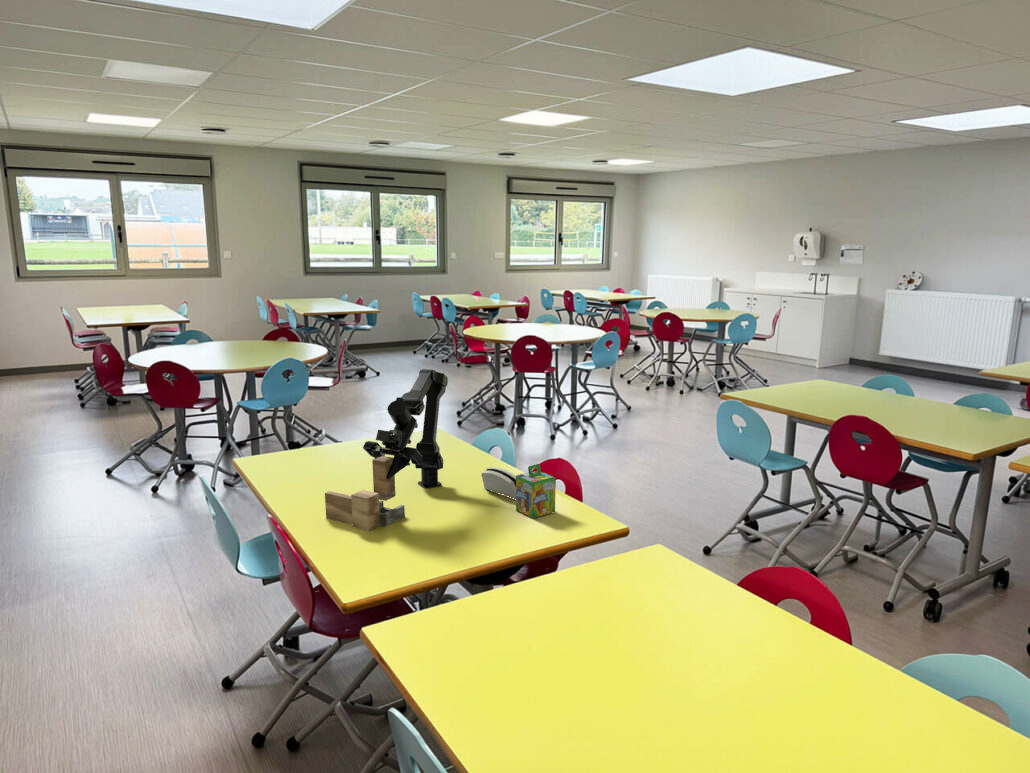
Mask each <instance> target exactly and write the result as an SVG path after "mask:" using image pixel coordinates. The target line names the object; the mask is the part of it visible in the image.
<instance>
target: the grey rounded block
mask: <svg viewBox="0 0 1030 773" xmlns="http://www.w3.org/2000/svg"><path fill="white" fill-rule="evenodd" d="M516 476H517V475H515V474H513V473H512V472H510V471H508V470H506V469H504V468H502V467H496V466H495V467H494V466H493V467H488V468H486V469H485V470H483V471H482V473H481V478H482V483H483V487H484V488H483V489H484V490H486V489H488V490H487V491H489V490H492V491H494V492H493V493H495V492H497V493H500V494H504V495H506V496H509V497H511V498H514V499H516ZM492 491H491V492H492ZM497 493H496V494H497ZM500 494H499V495H500ZM511 498H510V499H511ZM514 499H513V500H514Z"/></svg>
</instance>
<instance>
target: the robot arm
mask: <svg viewBox="0 0 1030 773" xmlns="http://www.w3.org/2000/svg"><path fill="white" fill-rule="evenodd" d="M448 383H449V379H448V376H447V375H446V374H445V373H444V372H438V371H436V370H435V369H426V368H425V369H424V368H423V369H420V370H419V372H418V376H417V377H416V380H415V381H414V383H413V386H412V387H411V388H410V391H408V392H405V393H403V394H402V395H401V397H396V399H395V400H393V401H391V402H390V404H388V406H387V409H386V410H387V413H388V415H389V417H390V418H391V420H392V422H393V423H394V424H395V425H394V427H393V429H390V430H383V429H378V430H377V433H376V437H375V441H371V440H368V441H365V442H364V445H363V446H362V449H363V450H364V451H365V452H366V453H367V454H368V455H369V456H370V457H372V458H373V459H375V458H378V457H380V456H386V455H388V456H393V458H394V461H393V463H392V465H391V468H390V470H389V472H388V475H387V479H390V478H391V477H393V476H394V475H395V476H396V474H398V473H399V472H400V471H401V470H403V469H404V468H406V467H407V466H411V464H413V465H414V467H415V469H420V474H421V478H420V479H421V481H417V484H419V486H421V487H423V488H424V489H429V488H435V487H441V486H442V485H443V483H441V482H440V481H439V470H443V469H444V458H443V456H442V454H441V453H440V452H441V450H440V446H439V444H438V442H437V430H438V421H439V411H440V402H441V398H442V397H443V396H444V394H445V393H446V389H447V387H448ZM425 397H426V399H425ZM424 399H425V402H424ZM424 403H425V404H424ZM423 412H424V418H423V427H422V428H423V429H422V437H421V439H420V441H419V442H417V443H416V445H415V448H414V447H409V446H408V445H411V444H412V440H411V437H412V435H413V433H414V430H415V429H417V428H418V426H419V424H418V421H417V419H416V418H415V417H414V416H421V415H422V413H423ZM377 441H380V442H381V444H382V446H381V445H380V444H379V443H378V442H377ZM383 446H384V447H383ZM410 462H411V463H410Z"/></svg>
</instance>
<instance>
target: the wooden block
mask: <svg viewBox="0 0 1030 773" xmlns="http://www.w3.org/2000/svg"><path fill="white" fill-rule="evenodd" d="M371 461H372V462H371V463H372V481H373V484H372V485H373V492H375V493H379V500H382V501H383V502H384V501H385V502H386V501H388V500H390V499H393V498H395V497H396V495H397V494H396V479H395V478H396V477H395V476H396V474H395V475H394V476H393V477H391V478H390V479H387V475H388V472H389V470H390V468H391V465H392V463H393V461H394V457H392V456H386V455H385V456H380V457H378V458H375V459H374V458H373V459H372V460H371Z"/></svg>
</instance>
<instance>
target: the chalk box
mask: <svg viewBox="0 0 1030 773" xmlns="http://www.w3.org/2000/svg"><path fill="white" fill-rule="evenodd" d="M534 469H535V470H534ZM527 470H528V472H525V473H520V474H517V475H515V476H516V500H515V511H516V510H517V511H516V512H518V511H519V513H520V512H521V513H520V514H523V515H525V516H527V515H528V517H529V516H530V517H529V518H531V517H532V519H536V517H537V518H539V516H540V517H542V515H544V516H546V515H545V514H548V515H550V514H549V513H551V514H553V513H552V512H555V513H556V486H557V485H556V482H557V481H556V480H557V479H556V477H554V476H553V475H550V474H548V473H546V472H542V471H541V466H540V463H536V464H533V465H528V467H527ZM533 470H534V471H533Z"/></svg>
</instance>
